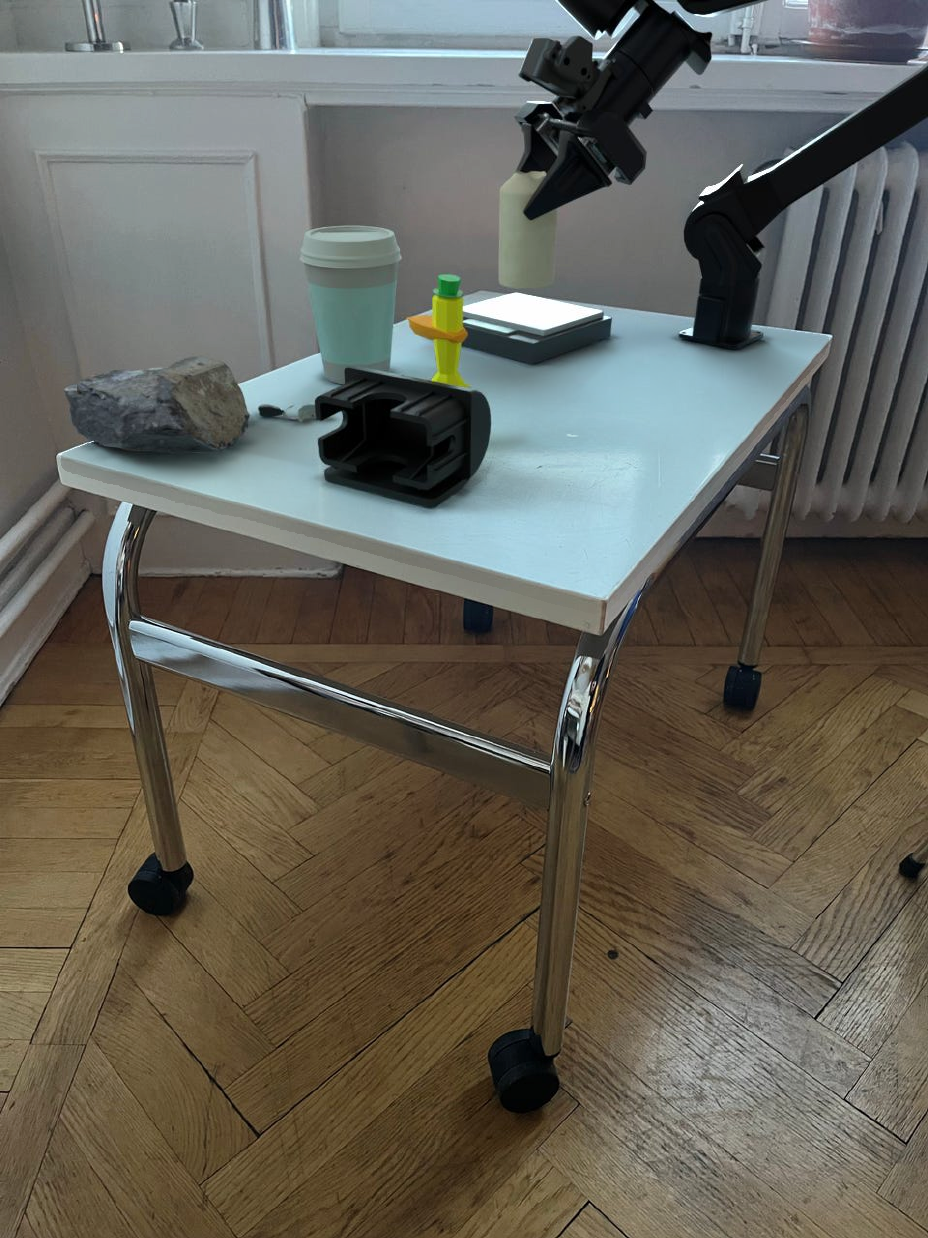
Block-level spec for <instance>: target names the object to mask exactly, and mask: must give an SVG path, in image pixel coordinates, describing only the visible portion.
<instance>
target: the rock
mask: <svg viewBox="0 0 928 1238" xmlns="http://www.w3.org/2000/svg"><path fill="white" fill-rule="evenodd" d="M63 392H64V394H65V397H66V399H67V401H68V404H69V405H70V406H69V413H70V418H71V424H72V425H73V426H74V427H75V429H76V430H77V434H79V435H81V436H83V437H85V438H86V439H87V440H88V441H90V442H94V443H98V444H99V445H100V446H104V447H109V448H117V449H118V448H119V449H121V450H124V451H132V452H133V451H134V452H136V451H137V452H140V451H141V452H143V451H150V452H156V453H162V454H164V453H165V454H166V453H177V454H178V455H186V454H196V453H213V452H214V453H215V452H220V451H221V452H222V451H224V450H227V449H228V448H230V447H231V446H232V445H233V444H234V443H235V441H236V440H237V439H239V438H241V437H245V433H246V431H247V429H248V428H249V423H250V422H249V419H250V417H251V414H250V413H249V411H248V407H247V404H246V399H245V395H244V393H243V391H242V389H241V387H240V385H239V383H238V382H237V381H236V379H235V376H234V374H233V371H232V370H231V368H230V366H229V365H228V364H227V363H226V362H224V361H222V360H219V359H214V358H211V357H207V356H203V355H200V356H190V357H186V358H183V359H181V360H178V361H175V362H174V363H172V364H170V365H169V366H167V367H149V368H143V369H137V370H131V369H125V370H124V369H114V370H109V371H103V372H102V371H101V372H99V373H95V374H92V375H90V376H87V377H83V378H82V379H80V380H79V381H77V382H75V383H73V384H72V385H68V386H67V387H65V388H63Z"/></svg>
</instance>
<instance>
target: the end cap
mask: <svg viewBox="0 0 928 1238" xmlns="http://www.w3.org/2000/svg"><path fill="white" fill-rule="evenodd" d="M344 373H345V384H340V385H338V386H337V387H334V388H333V389H331V390H328V391H326V392H324V393H322V394H320V395H318V396H316V398H315V399H314V405H315V413H316V417H315V420H316V421H318V422H323V421H325V420H326V419H328V418H331V417H332V416H334V415H336V414H338V413H341V414H342V421H341V423H340V425H339V426H338V427H337V428H335V429H333V430H331V431H329V432H328V433H325V434H323V435H322V436H320V437H318V438H317V447H318V457H319V459H320V461H321V462H322V463H323V464H324V465H326V466H329V467H327V468H325V469H324V470H323V476H324V481H327V482H329V483H333V484H337V485H339V486H344V487H347V488H352V489H355V490H359V491H362V492H367V493H370V494H374V495H378V496H382V497H386V498H389V499H393V500H397V501H400V502H404V503H409V504H411V505H415V506H419V507H424V508H429V509H433V508H436V507H438V506H440V505H441V504H442V503H444V502H445V501H447V500H448V499H450V498H451V497H452V496H454V495H455V494H456V493H458V492H460V491H461V490H462V489H463V488H464V487H465V486H466V485H467V483H469V480H470V479H471V478H472V477H473V476H475V474H476V473H477V471H478V470H479V468H480V466H481V465H482V463H483V460H484V459H485V456H486V454H487V451H488V449H489V448H488V447H489V444H490V439H491V433H492V412H491V407H490V403H489V401H488V399H487V396H486V395H485V394H484V393H483V392H482V391H480V390H479V389H476V388H472V387H471V388H472V389H471V388H466V387H461V386H455V385H450V384H445V383H440V382H435V381H431V380H429V379H425V378H420V377H414V376H408V375H404V374H398V373H393V372H384V371H378V370H373V369H368V368H363V367H358V366H351V367H347V368H345V370H344Z"/></svg>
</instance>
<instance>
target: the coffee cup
mask: <svg viewBox="0 0 928 1238" xmlns="http://www.w3.org/2000/svg"><path fill="white" fill-rule="evenodd" d="M299 252H300V257H299V261H300V262H302V263H303V264H304V271H305V276H306V283H307V288H308V292H309V299H310V303H311V309H312V314H313V319H314V320H313V321H314V326H315V332H316V336H317V341H318V349H319V352H320V358H321V363H322V368H323V374H324V377H325V379H326V380H327V381H329V382H331V383H335V384H338V385H343V384H345V373H344V370H345V368H347V367H351V366H358V367H363V368H368V369H373V370H378V371H384V372H389V373H391V372H390V371H391V358H392V346H393V335H394V323H395V322H394V321H395V309H396V294H397V284H398V283H397V282H398V269H399V262H400V261H401V260H402V258H403V256H402V255H401V248H400V247H399V245H398V241H397V238H396V233H395V232H394V231H393V230H391V229H387V228H384V227H378V226H369V225H368V226H367V225H334V226H323V227H317V228H313V229H310V230H307V231H306V232H305V233H304V235H303V241H302V246H301V247H300V251H299Z"/></svg>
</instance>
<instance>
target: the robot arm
mask: <svg viewBox="0 0 928 1238" xmlns="http://www.w3.org/2000/svg"><path fill="white" fill-rule="evenodd" d="M555 1H556V3H558V4H559V5H560V6H561V7H562V8H563V9H564V10H565V11H566V12H567V13H568V14H569V16H571V17H572V19H574V21H576V23H577V24H579V26H580V27H581V28H582V29H583V30H584V31H585V32H586V33H587V34H588V35H589V36H590V37H591V38H592V39H593V40H594V41H598V40H599V39H600V38H602V37H603V36H604V35H605V34H606V35H607V36H608V38H610V39H611V40H612V39H615V37H616V36H617V35H619V34H620V32H621V31H622V30H623V29H624V27H625V26H626V25H627V24H628V23H629V21H630V20H631V19H632V17H633V16H634V15H635V13H636V12H637V13H638V14H639V15H638V16H637V17H636V19H635V20H633V22H632V23H631V25H630V26H629V27H628V28H627V29H626V30H625V32H624V33H623V34H622V35H621V36H620V38H619V39H618V40H617V41H616V43H614V45H613V46H612V47H611V48H610V49H609V51H608V52H607V53H606V55H604V57H603V58H593V52H594V48H593V47H594V44H593V42H591V41H590V40H587V39H586V38H585V37H583V36H582V35H572V36H570V37H568V38H567V40H565V42H564V43H562V44H561V42H560V41H559V40H557V39H555V40H553V39H551V38H548V37H533V38H532V39H531V42H530V44H529V47H528V49H527V52H526V53H525V57H524V59H523V62H522V64H521V67H520V69H519V72H518V74H517V75H518V76H517V77H519V78H520V79H522V80H523V81H525V82H527V83H530V82H532V83H533V84H535V85H537V86H539V87H541V88H542V89H544V90H545V91H547V92H549V93H551V94H553V95H555V96H554V98H553V99H552V100H551V102H547V101H540V100H532V101H529V100H528V101H526V102H525V103H524V104H523V105H522V107H520V109H519V110H518V111H517V112H516V113H515V115H514V116H513V118H514V120H515V122H516V123H517V124H518V126H520V128H521V129H520V130H521V132H522V134H523V143H524V150H523V153H522V155H521V158H520V159H519V162H518V165H517V167H516V169H515V171H514V173H513V175H514V174H515V172H516V171H521V172H523V173H529V172H531V171H537V172H543V171H545V172H546V176H545V177H544V179H543V180H542V182H541V183H540V185H539V186H538V188H537V189H536V191H535V192H534V194H533V195H532V197H531V199H530V200H529V202H528V203H527V205H526V207H525V208H524V210H523V214H524V215H525V216H526V217H527V219H528V220H534V219H536V218H538V217H540V216H542V215H544V214H546V213H548V212H550V211H552V210H555V209H557V208H558V209H559V208H561V207H563V206H565V205H567V204H569V203H571V202H574V201H576V200H578V199H580V198H583V197H586V196H587V195H589V194H592V193H594V192H597V191H598V190H601V189H604V188H610V187H611V186H612V185H613V181H612V179H611V178H610V177H609V176H610V175H611V174H612V172H613V171H614V175H613V179H615V181H616V182H617V183H620V184H625V185H627V186H631V185H632V184H634V182H635V181H636V180H637V179H638V177H640V175H642V173H643V172H644V171H645V169H646V165H647V155H648V151H647V150H646V149H645V148H644V146H643V145H642V143H641V142H640V140H639V139H638V138H637V136H636V135H635V133H634V132H633V131H632V129H631V128H630V126H631V125H632V124H633V123H634V122H635V120H636V119H639V120H646V119H647V118H648V117H650V115H651V114H652V112H653V111H654V110H653V108H652V107H651V105H650V103H651V101H653V100H654V98H655V97H656V96H657V95H658V93H660V91H661V90H662V89H663V88H664V87H665V86H666V84H667V83H668V82H669V81H670V80H671V78H672V77H673V76H674V75H675V74H676V72H677V71H678V70H679V69H680V68H681V66H683V64H684V63H685V64H687V66H689V68H690V69H691V70H692V71H693V72H694V73H695V74H696V75H697V76H701V75H703V74H704V72H705V71H706V69H707V68H708V66H709V64H710V63H711V61H712V59H713V56H712V47H711V45H712V44H711V42H712V39H713V32H712V31H698V30H696V29H694V27H692V25H690V23H689V22H688V21H687V20H686V19H685V18H684V17H683V15H681V14H680V13H679V12H678V11H677V10H672V11H671V12H669V11H668V10H666V9H665V8H663V7H662V6H661V5H660V4H658V3H657V2H656V1H655V0H555ZM767 1H769V0H676V2H677V3H678V5H679V6H680V7H681V8H682V9H683V10H684V12H687V13H689V14H691V15H694V16H699V17H706V18H713V17H717V16H720V15H723V14H727V13H731V12H734V11H737V10H742V9H745V8H749V7H751V6H754V5H758V4H761V3H764V2H767ZM560 112H561V113H562V114H563V115H562V114H561V113H560ZM927 118H928V61H927V62H925V64H924V65H922V66H921V67H920V68H919V69H918V70H916V71H914V72H913V73H911V74H910V75H908V76H907V77H905V78H904V79H902V80H901V81H899V82H898V83H897V84H895V85H893V86H892V87H891V88H889V89H888V90H886V91H884V92H883V93H881V94H880V95H878V96H877V97H875V98H874V99H873V100H871V101H869V102H868V103H866V104H865V105H864V106H862V107H861V108H859V109H857V110H856V111H854V112H853V113H852V114H850V115H848V116H847V117H845V118H843V120H841V121H840V122H837V123H836V124H835V125H833V126H832V127H830V128H829V129H828V130H825V132H823V133H821V134H820V135H818V136H817V137H816V138H814V139H813V140H811V141H809V142H808V143H807V144H805V145H803V146H802V147H800V148H798V149H797V150H796V151H794V152H793V153H791V154H790V155H788V156H787V157H785V158H784V159H782V160H781V161H780V162H778V163H776V164H775V165H773V166H772V167H770V168H767V169H765V170H762V171H760V172H758V173H755V174H753V175H750V176H749V175H748V172H747V169H746V166H745V164H744V163H742V164H740V165H739V166H738V167H737V168H736V169H735V170H734V171H733V172H732V173H731V174H730V175H728V176H727V177H726V178H725V179H724V180H722V181H721V182H719V183H717V184H715V185H711V186H707V187H705V189H704V190H703V191H702V192H701V194H700V195H699V196H698V200H699V201H700V202H698V204H697V205H696V206H695V207H694V209H692V211H691V212H690V214H689V215H688V217H687V219H686V220H685V224H684V228H683V242H684V245H685V247H686V251H688V253H689V254H690V255H691V256H692V258H693V259H695V260H697V261H698V266H699V271H700V275H701V276H700V281H699V288H698V294H697V299H696V307H695V313H694V321H693V326H692V327H690V328H687V329H684V330H682V331H679V333H678V338H679V339H684V340H689V341H693V342H698V343H701V344H702V343H703V344H706V345H711V346H717V347H721V348H726V349H730V350H737V349H739V348H742V347H744V346H746V345H748V344H751V343H753V342H755V341H758V340H760V339H763V337H764V334H765V333H764V332H763V331H760V330H755V329H752V326H753V322H754V316H755V311H756V304H757V299H758V292H759V288H760V282H761V273H760V271H761V270H762V267H763V264H764V261H765V257H766V254H767V251H768V249H767V247H766V245H765V244H764V243H763V241H762V240H761V238H760V237H758V235H759V234H760V233H761V232H762V231H763V230H764V229H765V228H766V227H767V226H769V225H770V223H772V222H773V221H774V220H775V219H776V218H777V217H778V216H779V215H780V214H781V213H782V212H783V211H785V209H787V208H788V207H789V206H791V205H792V204H795V203H796V202H797V201H798V200H800V199H802V198H803V197H804V196H806V195H809V193H811V192H812V191H814V190H816V189H817V188H819V187H821V186H822V185H823V184H825V183H827V182H828V181H830V180H831V179H833V178H835V177H836V176H838V175H840V174H841V173H843V172H844V171H845V170H847V169H849V168H851V167H852V166H854V165H855V164H857V163H859V162H860V161H861V160H863V159H864V158H866V157H868V156H869V155H871V154H873V153H874V152H876V151H877V150H879V149H881V148H882V147H883V146H885V145H887V144H889V143H890V142H892V141H893V140H895V139H896V138H897V137H900V136H901V135H902V134H905V133H906V132H907V131H909V130H911V129H912V128H914V127H915V126H916V125H918V124H920V123H921V122H923V121H924V120H926V119H927ZM558 209H557V210H558Z"/></svg>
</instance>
